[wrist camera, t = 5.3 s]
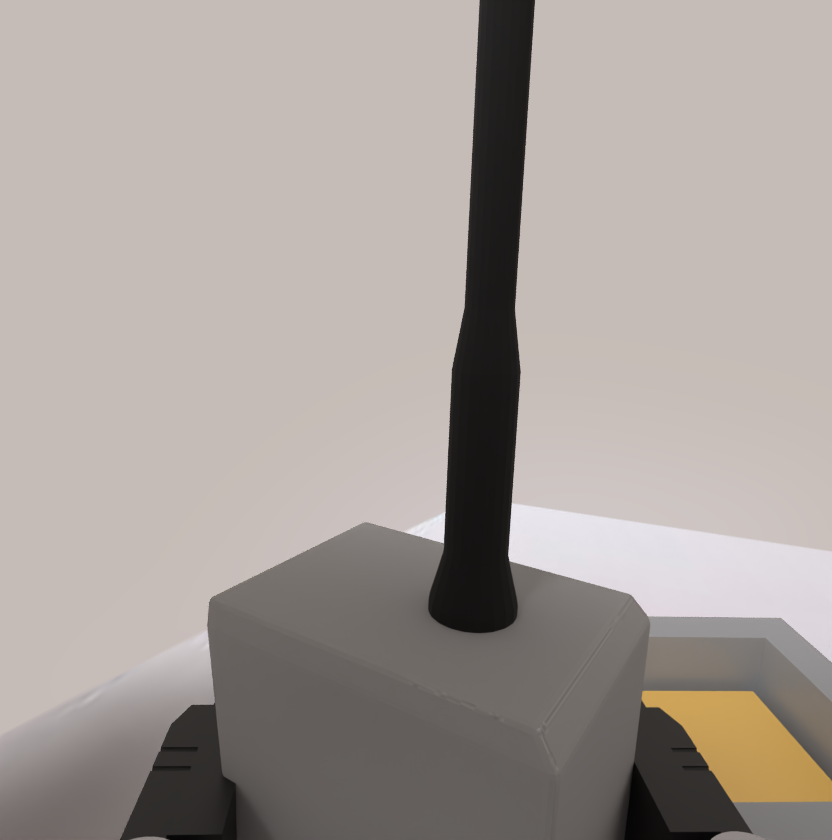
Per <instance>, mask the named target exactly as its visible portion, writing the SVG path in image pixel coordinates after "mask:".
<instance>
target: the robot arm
mask: <svg viewBox="0 0 832 840" xmlns="http://www.w3.org/2000/svg"><path fill="white" fill-rule="evenodd" d="M120 840H237V828H236V783H234V782H233V781H231V780H229V779H228V778H226V777H224V776H223V774H222V766H221V756H220V746H219V736H218V726H217V716H216V706H215V703H214V705H191V706H190V707H189V708H188V709H187V710H186V711H185V712H184V713H183V714H182V715H181V716H180V717H179V718H178V719H176V720H175V721H174V722H173V723H172V724H171V726H170V728H169V731H168V733H167V735H166V737H165V740H164V742H163V744H162V746H161V752H159V753H158V755H157V758H156V760H155V762H154V764H153V769H152V771H150V773H149V776H148V778H147V780H146V782H145V785H144V787H143V789H142V792H141V794H140V796H139V798H138V801H137V803H136V805H135V807H134V810H133V812H132V814H131V816H130V819H129V821H128V823H127V825H126V828H125V830H124V832H123V834H122V837H121V839H120ZM624 840H767V839H765V838H763V837H760V836H757V835H754V834H753V833H752V831H751V830H750V828H749V827H748V825H747V824H746V822H745V821H744V819H743V818H742V816H741V814H740V813H739V811H738V810H737V808H736V807H735V805H734V804H733V802H732V801H731V799H730V798H729V796H728V795H727V793H726V792H725V790H724V789H723V787H722V786H721V784H720V783H719V781H718V779H717V778H716V776H715V775H714V773H713V772H712V771H709V766H708V764H707V763H706V761H705V760H704V758H703V757H702V755H701V754H700V752H697V747H696V746H695V744H694V743H693V741H692V740H691V738H690V737H689V735H688V734H687V732H686V731H685V729H684V728H683V726H682V725H680V724H679V723H678V722H677V721H675V720H674V719H673V718H672V717H671V716H669V715H668V714H667V713H666V712H664V711H663V710H662V709H661V708H659V707H646V706H645V704H644V703H643V701H642V700H641V708H640V716H639V725H638V733H637V741H636V750H635V758H634V765H633V773H632V781H631V789H630V798H629V806H628V814H627V822H626V830H625V838H624Z"/></svg>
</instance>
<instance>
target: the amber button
mask: <svg viewBox="0 0 832 840" xmlns="http://www.w3.org/2000/svg"><path fill="white" fill-rule="evenodd" d="M642 701H643V703H644V704H645V706H646V707H659V708H661V709H662V710H663V711H664V712H666V713H667V714H668V715H669V716H671V717H672V718H673V719H674V720H675V721H677V722H678V723H679V724H680V725H682V726H683V728H684V729H685V731H686V732H687V734H688V735H689V737H690V738H691V740H692V741H693V743H694V744H695V746H696V747H697V752H700V754H701V755H702V757H703V758H704V760H705V761H706V763H707V764H708V766H709V771H712V772H713V773H714V775H715V776H716V778H717V779H718V781H719V783H720V784H721V786H722V787H723V789H724V790H725V792H726V793H727V795H728V796H729V798H730V799H731V801H732V802H832V781H831V779H830V778H829V777H828V776H827V775H826V774H825V773H824V771H823V770H822V769H821V768H820V767H819V766H818V765H817V763H816V762H815V761H814V760H813V759H812V758H811V757H810V755H809V754H808V753H807V752H806V751H805V750H804V749H803V747H802V746H801V745H800V744H799V743H798V742H797V741H796V740H795V738H794V737H793V736H792V735H791V734H790V733H789V732H788V730H787V729H786V728H785V727H784V726H783V725H782V724H781V722H780V721H779V720H778V719H777V718H776V717H775V716H774V714H773V713H772V712H771V711H770V710H769V709H768V708H767V707H766V705H765V704H764V703H763V702H762V701H761V700H760V699H759V697H758V696H757V695H756V694H755V693H754V692H753V691H642Z"/></svg>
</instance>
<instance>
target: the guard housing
mask: <svg viewBox="0 0 832 840" xmlns="http://www.w3.org/2000/svg"><path fill="white" fill-rule="evenodd" d="M648 618H649V620H650V633H649V641H648V650H647V658H646V666H645V675H644V683H643V691H753V692H754V693H755V694H756V695H757V696H758V697H759V699H760V700H761V701H762V702H763V703H764V704H765V705H766V707H767V708H768V709H769V710H770V711H771V712H772V713H773V714H774V716H775V717H776V718H777V719H778V720H779V721H780V722H781V724H782V725H783V726H784V727H785V728H786V729H787V730H788V732H789V733H790V734H791V735H792V736H793V737H794V738H795V740H796V741H797V742H798V743H799V744H800V745H801V746H802V747H803V749H804V750H805V751H806V752H807V753H808V754H809V755H810V757H811V758H812V759H813V760H814V761H815V762H816V763H817V765H818V766H819V767H820V768H821V769H822V770H823V771H824V773H825V774H826V775H827V776H828V777H829V778H830V779H831V781H832V663H831V662H830V661H829V660H828V659H827V658H826V657H825V656H824V655H822V654H821V653H820V652H819V651H818V650H817V649H816V648H814V647H813V646H812V645H811V644H810V643H809V642H808V641H806V640H805V639H804V638H803V637H802V636H801V635H800V634H798V633H797V632H796V631H795V630H794V629H793V628H792V627H791V626H789V625H788V624H787V623H786V622H785V621H784V620H783V619H781V618H728V617H648ZM733 804H734V805H735V807H736V808H737V810H738V811H739V813H740V814H741V816H742V818H743V819H744V821H745V822H746V824H747V825H748V827H749V828H750V830H751V831H752V833H753V834H754V835H757V836H760V837H763V838H765V839H767V840H832V802H733Z"/></svg>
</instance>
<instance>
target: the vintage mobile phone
mask: <svg viewBox="0 0 832 840" xmlns="http://www.w3.org/2000/svg"><path fill="white" fill-rule="evenodd" d="M534 6H535V0H480V6H479V27H478V47H477V48H478V49H477V67H476V88H475V108H474V129H473V149H472V150H473V151H472V169H471V191H470V211H469V231H468V251H467V271H466V292H465V293H466V294H465V309H464V313H463V318H462V323H461V328H460V333H459V338H458V343H457V348H456V353H455V357H454V362H453V368H452V383H451V404H450V405H451V406H450V426H449V428H450V429H449V448H448V470H447V492H446V513H445V535H444V543H440V542H436V541H433V540H429V539H425V538H422V537H418V536H414V535H411V534H407V533H404V532H400V531H396V530H392V529H389V528H385V527H381V526H378V525H374V524H370V523H362V524H360V525H358V526H356V527H354V528H352V529H350V530H348V531H346V532H344V533H342V534H340V535H338V536H335V537H334V538H331V539H329V540H328V541H325V542H323V543H321V544H319V545H318V546H315V547H313V548H311V549H309V550H307V551H305V552H303V553H301V554H299V555H297V556H295V557H293V558H291V559H289V560H287V561H285V562H283V563H281V564H279V565H277V566H275V567H273V568H271V569H268V570H266V571H264V572H263V573H260V574H259V575H257V576H254V577H252V578H250V579H248V580H246V581H244V582H242V583H240V584H238V585H236V586H234V587H232V588H230V589H228V590H226V591H224V592H222V593H220V594H218V595H216V596H214V597H212V598H211V599H210V602H209V612H208V624H207V626H208V637H209V647H210V657H211V667H212V677H213V686H214V696H215V706H216V716H217V726H218V736H219V746H220V756H221V766H222V774H223V776H224V777H226V778H228V779H229V780H231V781H233V782H234V783H236V828H237V840H624V838H625V830H626V822H627V814H628V806H629V798H630V789H631V781H632V773H633V765H634V758H635V750H636V741H637V733H638V725H639V716H640V708H641V700H642V691H643V683H644V675H645V666H646V658H647V650H648V641H649V633H650V620H649V618H648V616H647V615H646V613H645V612H644V611H643V610H642V608H641V607H640V606H639V604H638V603H637V602H636V601H635V599H634V598H633V597H632V596H631V595H629V594H627V593H623V592H619V591H616V590H612V589H608V588H605V587H601V586H597V585H594V584H590V583H586V582H583V581H579V580H575V579H572V578H568V577H564V576H561V575H557V574H553V573H550V572H546V571H542V570H539V569H535V568H532V567H528V566H524V565H521V564H517V563H513V562H510V561H509V557H508V549H509V534H510V519H511V505H512V489H513V474H514V461H515V460H514V459H515V446H516V431H517V417H518V416H517V415H518V401H519V387H520V373H521V372H520V361H519V351H518V339H517V328H516V318H515V299H516V282H517V268H518V252H519V237H520V222H521V221H520V220H521V206H522V191H523V175H524V159H525V145H526V129H527V111H528V98H529V83H530V82H529V81H530V67H531V51H532V37H533V22H534V21H533V20H534Z"/></svg>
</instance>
